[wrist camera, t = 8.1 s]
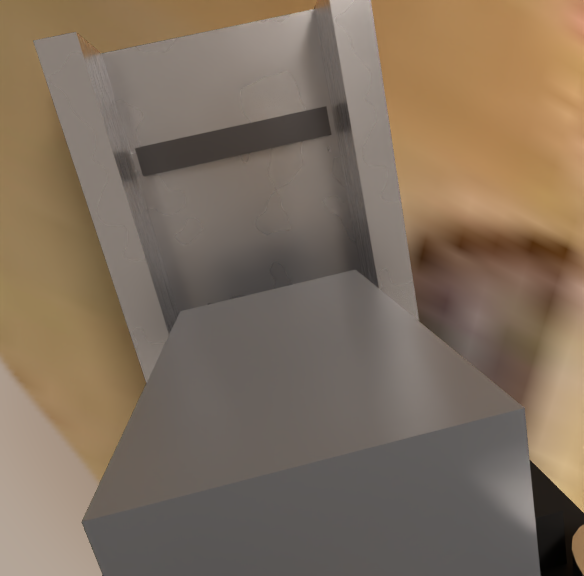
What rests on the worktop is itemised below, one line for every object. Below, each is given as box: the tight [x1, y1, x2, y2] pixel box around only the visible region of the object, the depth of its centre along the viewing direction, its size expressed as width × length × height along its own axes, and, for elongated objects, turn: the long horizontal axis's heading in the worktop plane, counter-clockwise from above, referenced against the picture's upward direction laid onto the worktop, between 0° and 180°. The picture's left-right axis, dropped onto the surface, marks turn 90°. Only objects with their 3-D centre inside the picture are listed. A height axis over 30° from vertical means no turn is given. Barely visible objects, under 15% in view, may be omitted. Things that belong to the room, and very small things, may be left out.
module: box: [82, 270, 541, 576], centre depth 8 cm, size 7×4×8 cm, turn 12°
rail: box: [33, 0, 419, 383], centre depth 15 cm, size 20×9×3 cm, turn 12°
